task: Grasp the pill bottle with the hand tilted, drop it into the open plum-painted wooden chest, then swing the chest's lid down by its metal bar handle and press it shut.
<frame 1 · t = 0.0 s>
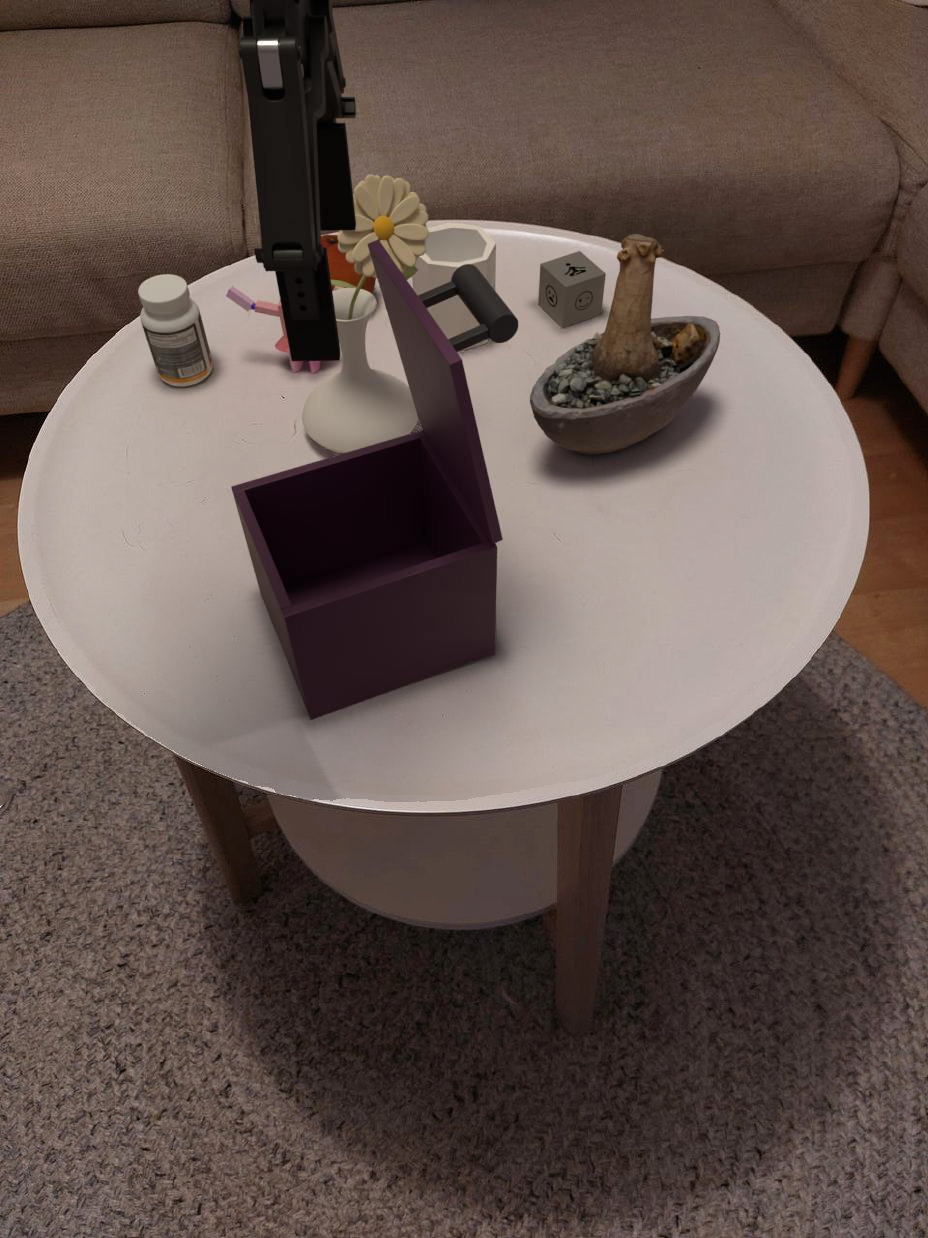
hand: (326, 288, 59), 29 cm above the table, tool pointing down, fingers open, 13 cm apart
chest: (375, 624, 81), on the table
pill bottle: (187, 373, 102), on the table
lid: (471, 383, 66), point 22 cm above the table, hinge at 80.0°
figurine: (297, 364, 102), on the table
flower in vase: (371, 426, 96), on the table
fruit: (339, 304, 109), on the table
dice cube: (569, 311, 108), on the table
planter: (617, 435, 95), on the table
mug: (453, 319, 107), on the table
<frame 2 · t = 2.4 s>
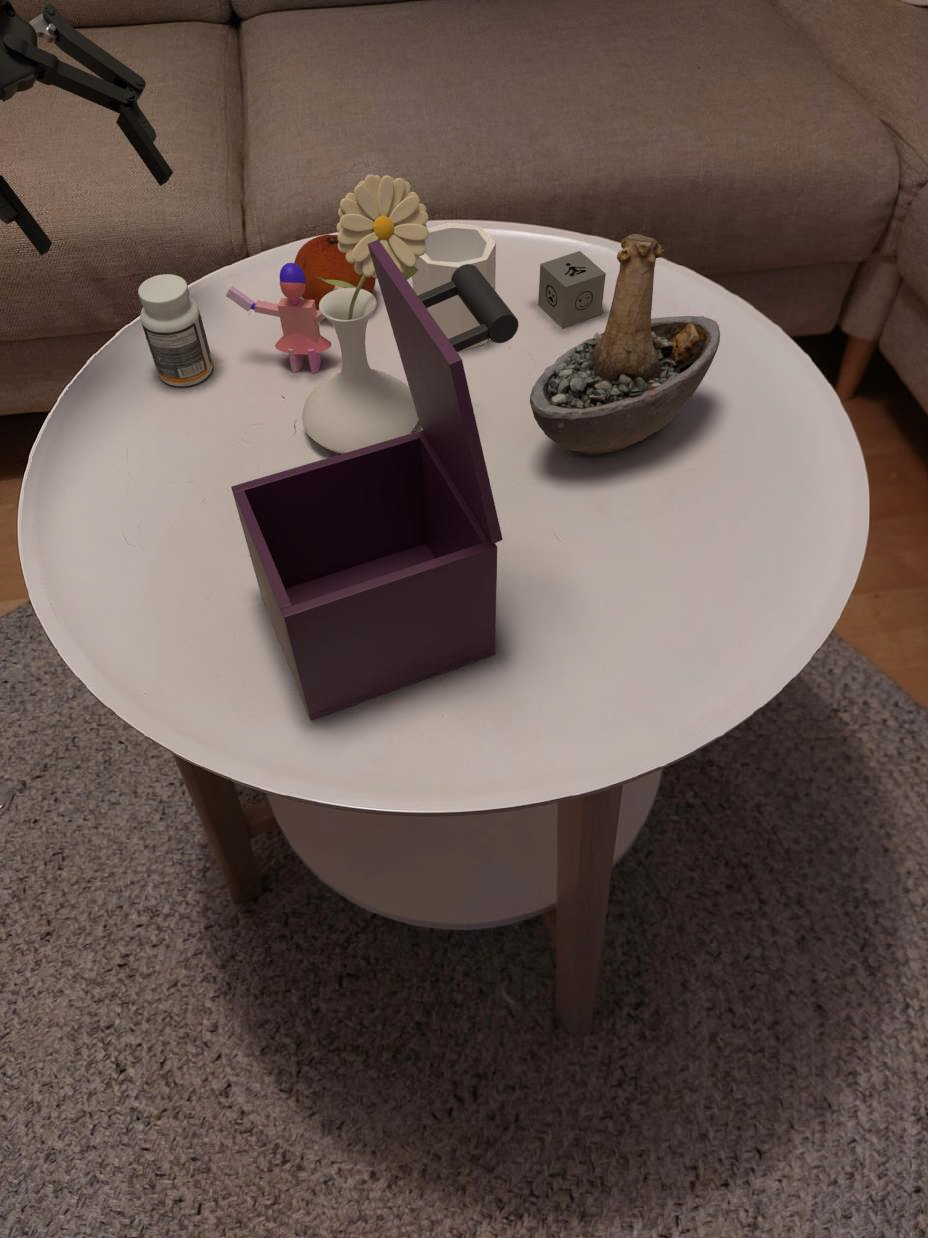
hand: (108, 213, 90), 16 cm above the table, tool tilted 40°, fingers open, 13 cm apart
nothing on the table moved.
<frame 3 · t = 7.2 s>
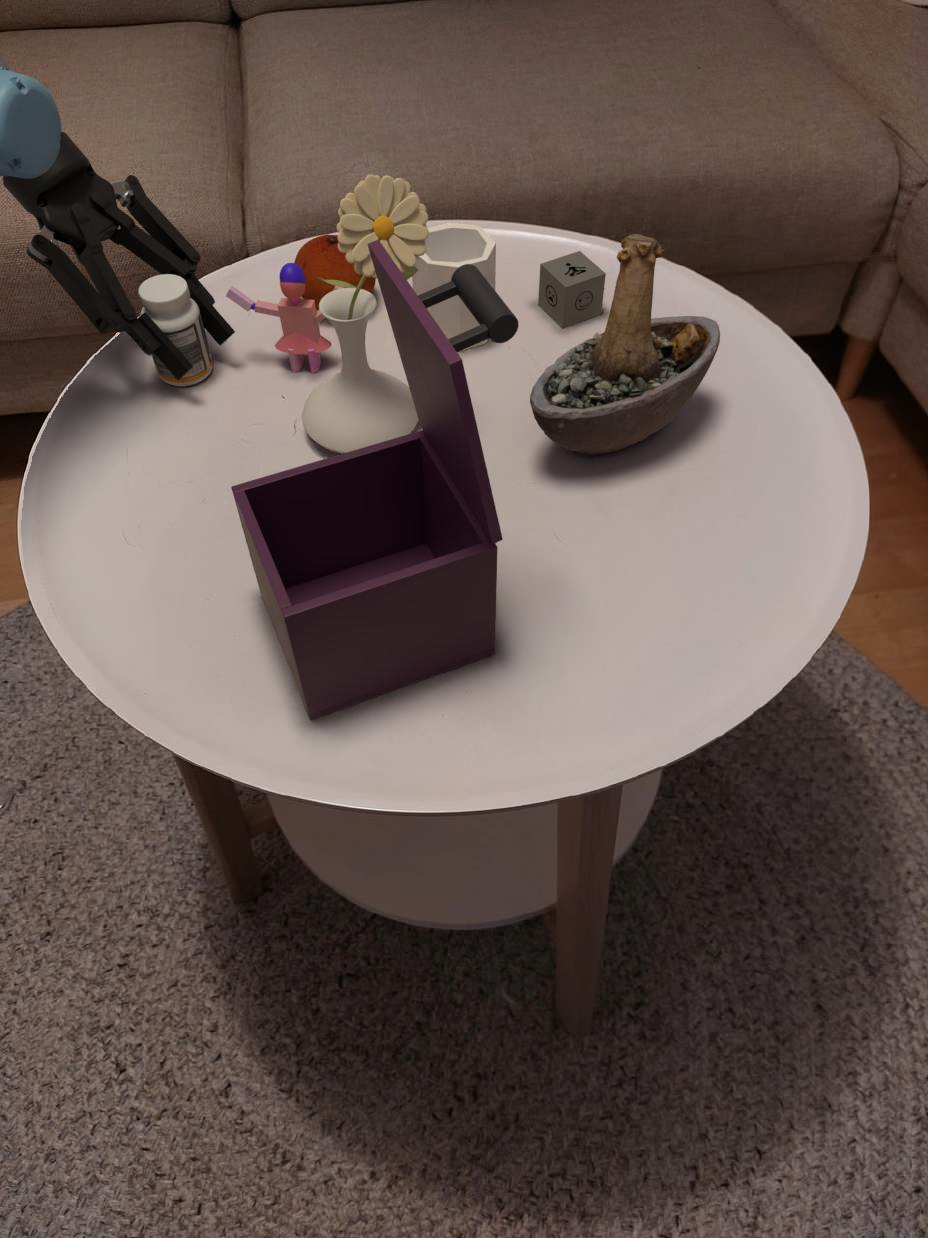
hand: (206, 355, 98), 3 cm above the table, tool tilted 45°, fingers closed on pill bottle, 6 cm apart
pill bottle: (187, 373, 102), on the table, touching gripper
everything else where it was.
when the fingers open (13 cm above the table, at t = 20.9 s): pill bottle drops 9 cm, resting on chest.
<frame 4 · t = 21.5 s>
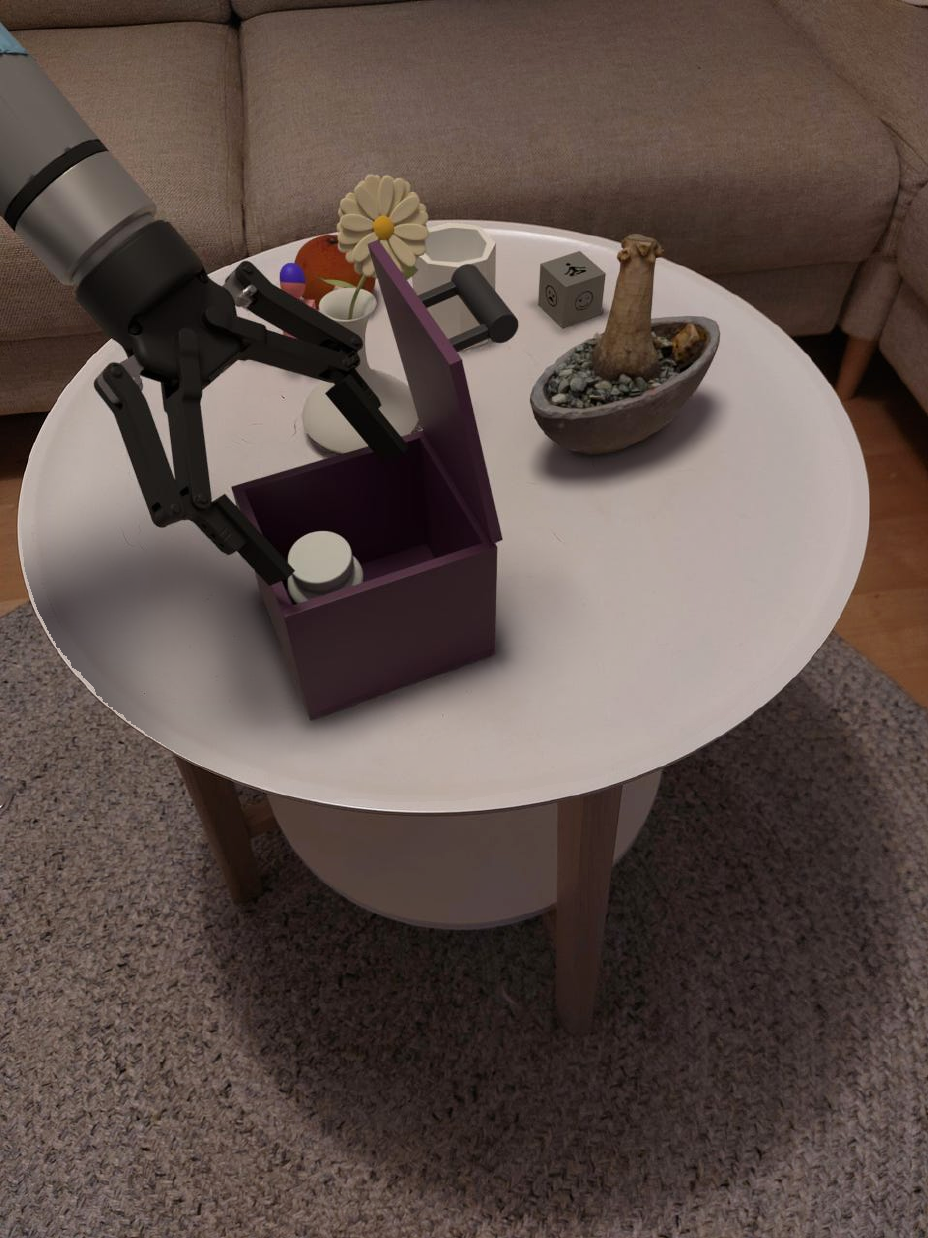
hand: (342, 514, 67), 15 cm above the table, tool tilted 45°, fingers open, 13 cm apart
pill bottle: (339, 629, 79), point 1 cm above the table, touching chest
everything else where it was.
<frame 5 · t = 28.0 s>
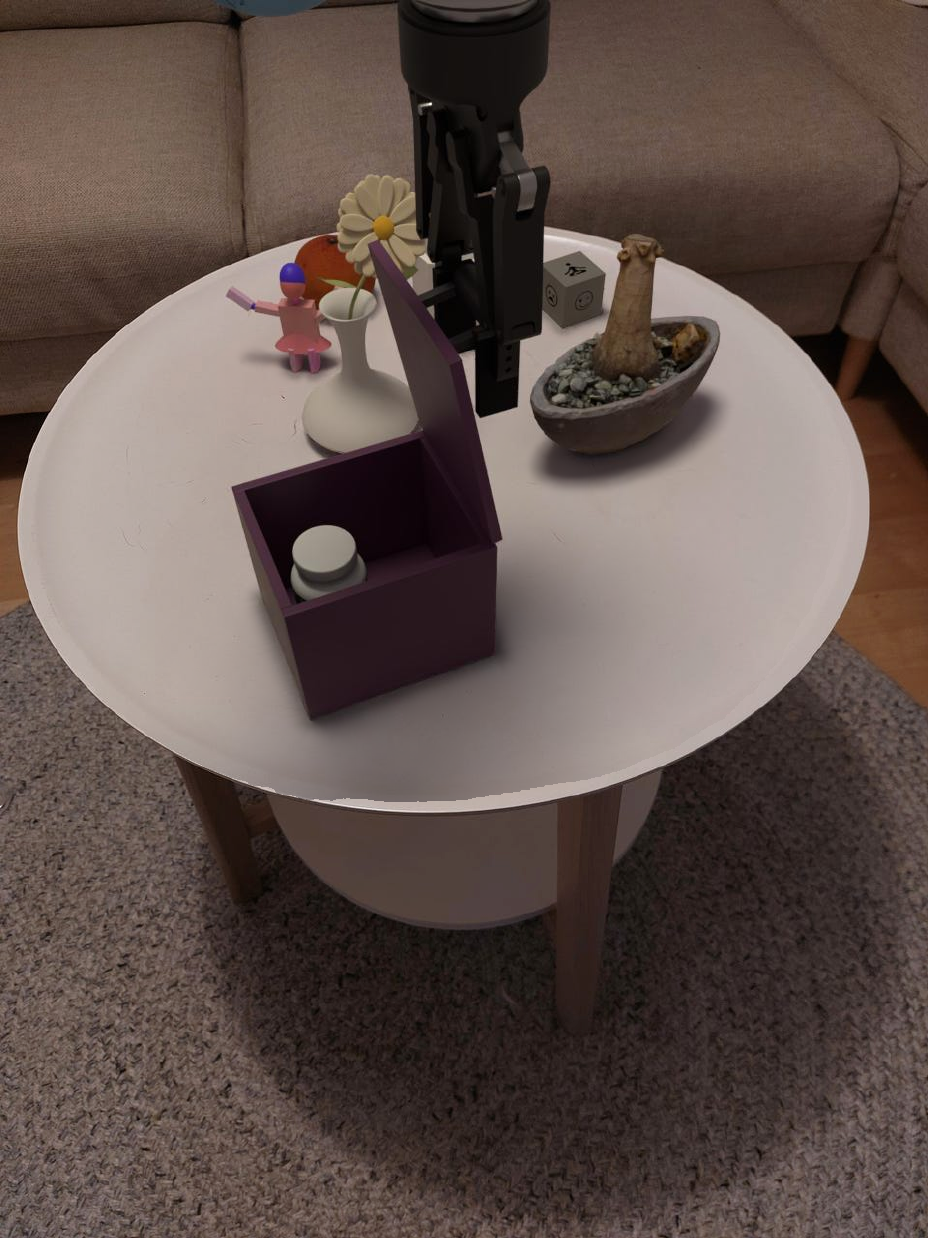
hand: (475, 378, 65), 22 cm above the table, tool pointing down, fingers closed on lid, 6 cm apart
lid: (471, 383, 66), point 22 cm above the table, hinge at 80.0°, touching gripper
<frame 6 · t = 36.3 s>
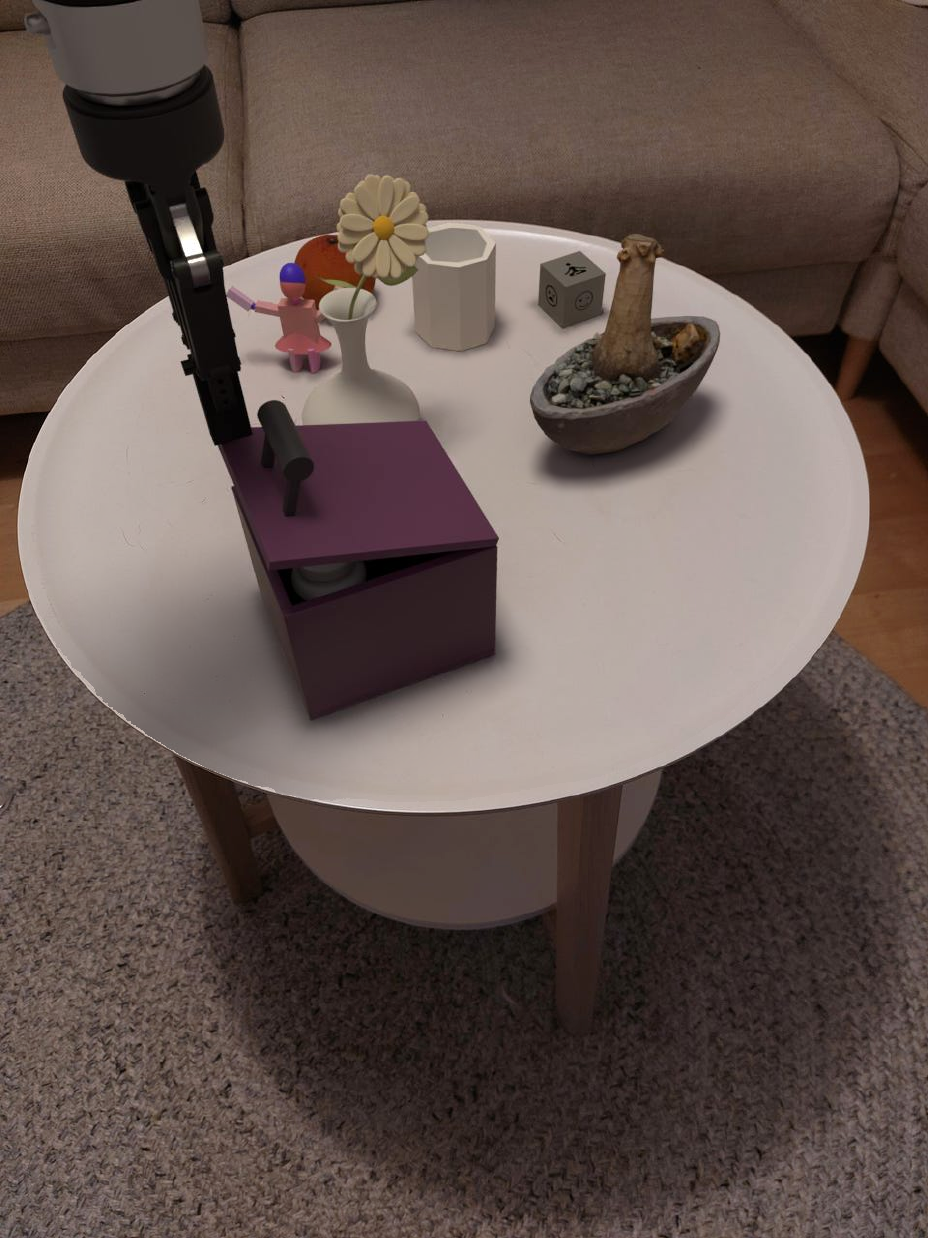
hand: (231, 433, 67), 19 cm above the table, tool pointing down, fingers closed
lid: (362, 459, 67), point 18 cm above the table, hinge at 16.8°, touching gripper
everything else where it was.
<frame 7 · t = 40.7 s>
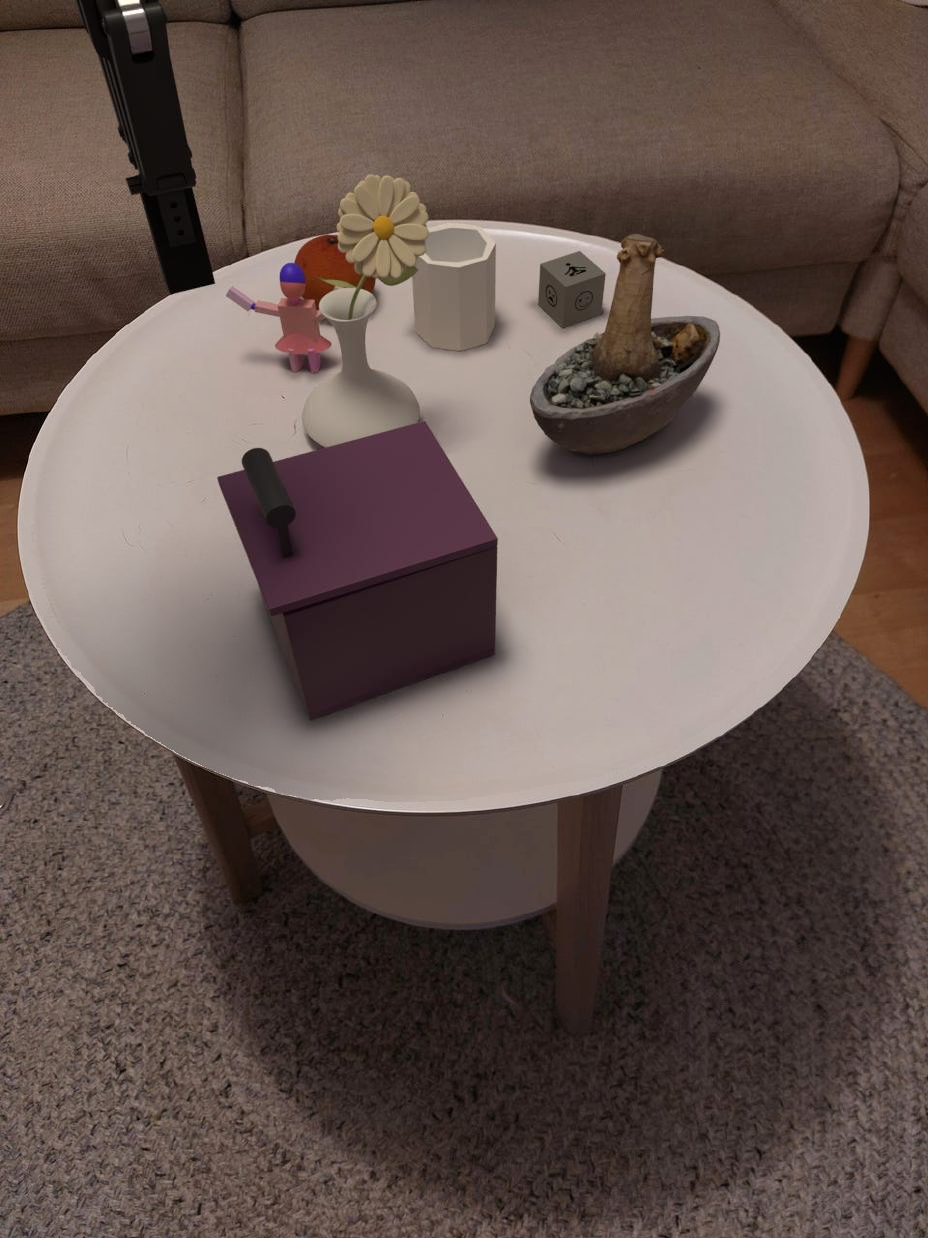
hand: (190, 282, 58), 30 cm above the table, tool pointing down, fingers closed
lid: (351, 485, 68), point 16 cm above the table, hinge at 1.5°
everything else where it was.
at the end: pill bottle inside the target area in the chest (3.0 cm from its centre), point 0.6 cm above the chest's base; lid at +2° (first picture: +80°) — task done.
